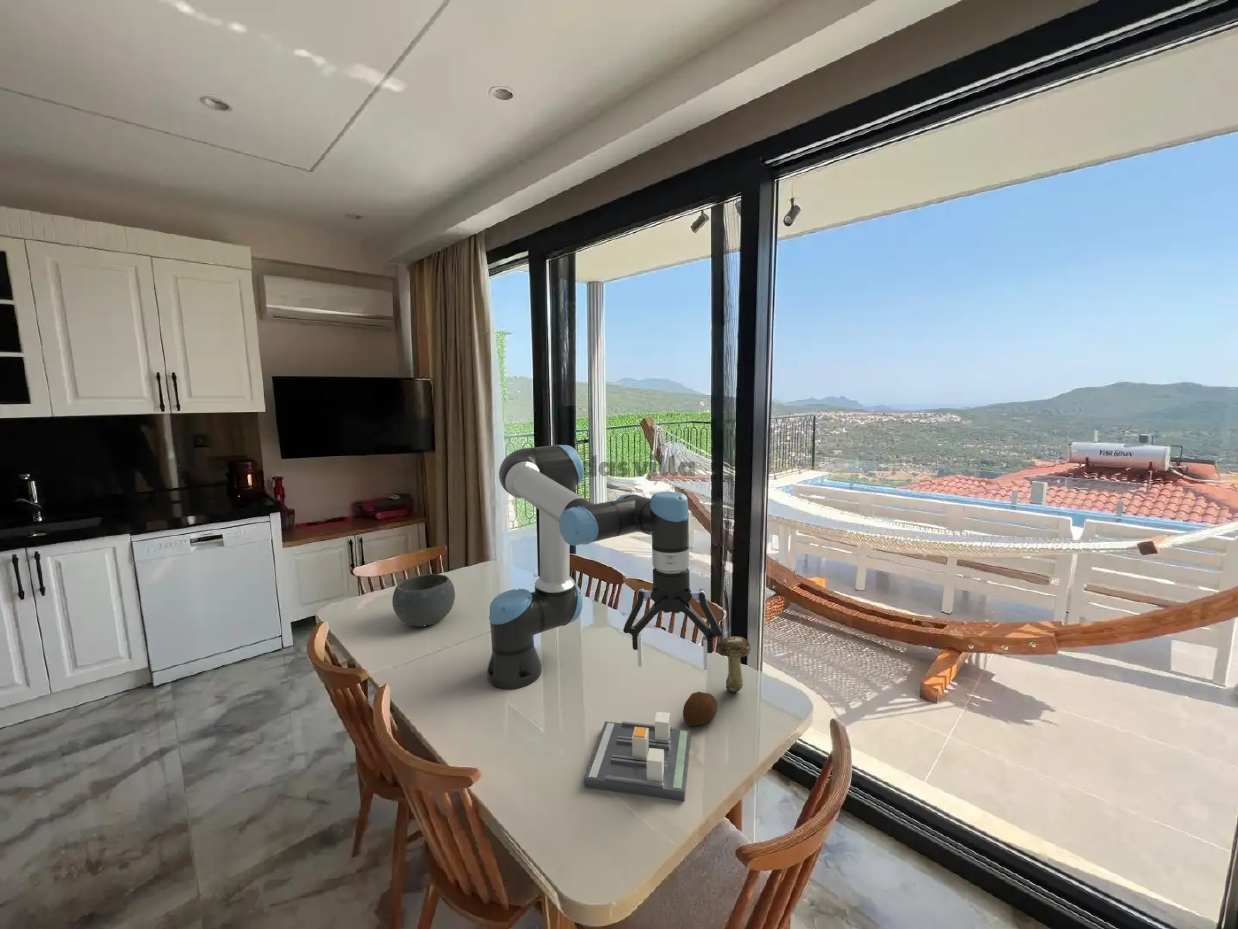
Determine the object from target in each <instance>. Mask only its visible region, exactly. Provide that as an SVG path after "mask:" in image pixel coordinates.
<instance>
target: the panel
mask: <svg viewBox="0 0 1238 929" xmlns="http://www.w3.org/2000/svg"><path fill="white" fill-rule="evenodd" d="M635 727H643V728H649V748H654V749H663V750H664V774H663V780H662V783H661V782H654V781H647V759H646V758H638V757H633V756H632V736H633V732H634V728H635ZM691 732H692V731H691V730H687V729H678V728H673V726H670V736H669V741H661V740H655V724H648V723H639V722H630V721H622V722H616V721H615V722H614V721H604V724H603V726H602V729H601V731H600V735H599V736H598V740H597V743H596V746H595V748H594V750H593V753H592V756H591V760H590V762H589V765H588V768H587V771H586V773H585V775H584V788H587V787H588V788H587V789H595V788H596V790H601V791H602V790H604V791H609V792H617V793H623V794H624V793H625V794H631V795H632V794H633V795H639V796H648V797H655V798H661V799H662V798H663V799H670V800H676V801H683V802H685V801H686V791H687V781H688V772H689V771H688V770H689V762H690V761H689V760H690V751H691V750H690V749H691V742H692V740H691V739H692V738H691V736H692V734H691ZM648 751H649V750H648ZM647 756H648V754H647Z"/></svg>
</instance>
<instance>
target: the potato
mask: <svg viewBox="0 0 1238 929" xmlns="http://www.w3.org/2000/svg"><path fill="white" fill-rule="evenodd" d="M717 711H718V703H717V700H716V697H715V695H712V694H711V693H707V692H702V691H696V692H693V693H691V694H690V695H689V697H688V698H687V700H686V701H685V702H684V705H683V709H682V718H683V721H684V723H685V724H686V725H689V726H699V725H703V724H704V725H705V724H707V723H709V722H710V721H711V720H713V718H714V717H715V716H716V714H717Z"/></svg>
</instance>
